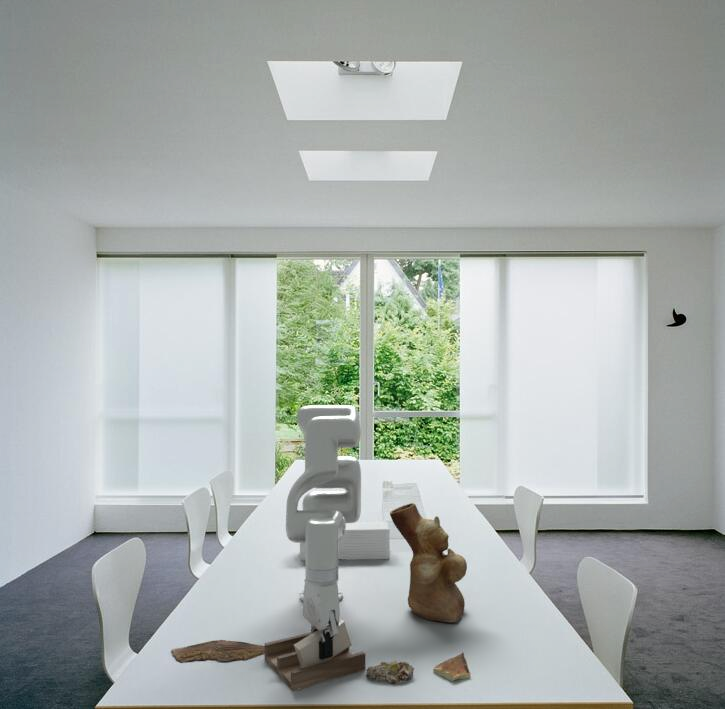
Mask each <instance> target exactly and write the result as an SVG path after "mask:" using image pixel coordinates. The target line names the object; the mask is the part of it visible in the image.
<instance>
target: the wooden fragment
mask: <svg viewBox="0 0 725 709" xmlns="http://www.w3.org/2000/svg"><path fill="white" fill-rule="evenodd" d="M170 652H171V654H172V658H173V659H174V658H175V660H176V661H178V662H179V663H182V664H183V663H187V662H193V661H208V660H209V661H210V660H211V661H213V660H215V661H217V662H229V661H235V660H236V661H237V660H238V661H239V660H242V661H247V660H251V659H254V658H256V657H258V656H261V655H263V654H265V645H264V644H254V643H250V642H249V643H248V642H243V641H236V640H235V641H234V640H226V639H225V640H224V639H219V640H217V639H216V640H209V641H206V642H201V643H197V644H191V645H187V646H183V647H178V648H177V647H176V648H172V649H171V651H170Z"/></svg>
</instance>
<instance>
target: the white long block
mask: <svg viewBox="0 0 725 709" xmlns="http://www.w3.org/2000/svg"><path fill="white" fill-rule="evenodd" d="M390 537H391V536H390V527H389V524H388V521H357V522H354V523H346V528H345V533H344V535H343V536H342V538H341V539H340V540H339V541H338V559H346V560H383V559H384V560H385V559H386V560H387V559H390V558H391V557H390V556H391V553H390V552H391V551H390V547H391V546H390V542H391V541H390ZM299 561H306V551H305V543H299Z"/></svg>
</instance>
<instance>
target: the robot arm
mask: <svg viewBox="0 0 725 709" xmlns="http://www.w3.org/2000/svg"><path fill="white" fill-rule="evenodd" d="M296 422H297V424H298V428H299V430H300V431H301V433H302V435H303V437H304V440H305V442H304V443H305V444H304V471H303V473H302V474H301V475H300V476H299V477H298V478H297V479H296V481H295V482H294V483H293V484H292V486H291V489H290V490H289V493H288V495H287V498H286V506H285V508H286V512H285V513H286V514H285V532H286V537H287V540H289V541H290V542H293V543H299V544H300V543H305V551H306V560H305V579H304V587H303V590H302V591H301V592H300V595H299V596H300V600H301V601H302V602H303V604H302V617H303V618H304V619H305V621H307V623H309V624H310V632H311V633H314V632H315V631H317V630H319V631H320V633H321V641H319V658H320V659H321V660H322V659H326V658H330V657H332V656H333V640H334V636H336V635H338V630H337V627H338V625H339V618H340V616H341V615H340V601H341V600H342V599H343V597H344V596H343V590H342V589H340V588H338V587H339V585H338V582H339V560H338V541H339V540H340V539H341V538H342V536H343V535H344V533H345V528H346V523H354V522H359V520H360V518H361V514H362V471H361V470H362V468H361V464H360V461H359V460H358V458H356V457H354V456H349V455H343V456H342V455H340V456H339V450H338V449H339V448H340V449H341V448H343V449H344V448H345V449H346V448H347V449H348V448H351V449H352V448H356V447H357V446H359V444H360V441H361V433H362V432H361V430H362V429H361V422H360V416H359V412H358V410H357V408H356V407H355V406H354V405H350V404H349V405H348V404H336V405H335V404H334V405H333V404H332V405H330V404H329V405H328V404H312V405H304V406H301V407H299V409H298V410H297V412H296ZM313 489H319V490H317V491H316V490H315V491H311V490H313ZM320 489H321V490H320ZM335 489H336V490H335ZM337 489H339V490H337ZM341 489H342V490H341ZM343 489H344V490H343ZM309 491H310V492H309ZM307 492H308V493H307ZM306 493H307V494H306ZM305 494H306V495H305ZM303 496H304V497H303ZM302 497H303V500H302V503H301V504H302V506H301V507H302V510H298V504H299V502H300V500H301V498H302ZM328 624H329V625H328ZM325 630H329V632H326V634H325Z"/></svg>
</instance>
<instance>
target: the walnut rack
mask: <svg viewBox="0 0 725 709" xmlns="http://www.w3.org/2000/svg"><path fill="white" fill-rule="evenodd" d="M311 634H312V633H311V631H310V632H306V633H302V634H297V635H293V636H288V637H286V638H282V639H277V640H273V641H268V642H265V643H264V646H265V653H264V660H265V661H266V662H267V663H268V664H269V666H270V667H271V668H272V669H273V670H274V671H275V673H277V675H278V676H279V677H280V678H281V679H282V681H284V683H286V685H287V686H288V687H289V688H290V689H291V690H292V691H297V690H299V689H304V688H307V687H310V686H315V685H317V684H321V683H325V682H327V681H331V680H334V679H338V678H341V677H344V676H349V675H353V674H355V673H358V672H362V671H365V670H366V652H364V650H362V651H359V652H355V653H352V652H351V651H350V646H349V647H348V648H346V649H345V650H343V651H342V652H340V653H339V654H337V655H335V656H334V657H332V658H331V659H329V660H328V661H325V662H322V663H318V664H315V665H311V666H307V667H304V668H301V665H300V662H299V659H298V656H297V653H296V650H295V647H294V644H296V643H298V642H299V641H301V640H302V639H304V638H306V637H307V636H309V635H311Z"/></svg>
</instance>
